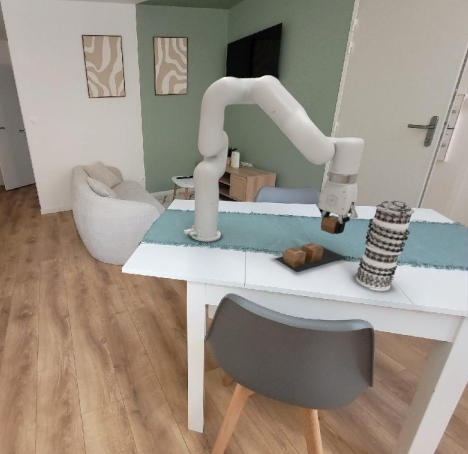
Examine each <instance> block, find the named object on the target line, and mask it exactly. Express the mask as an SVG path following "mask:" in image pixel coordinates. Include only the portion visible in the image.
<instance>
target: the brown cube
mask: <svg viewBox="0 0 468 454" xmlns="http://www.w3.org/2000/svg"><path fill="white" fill-rule="evenodd" d="M320 246H321V245H318V244H317V243H314V242H310V243H305V244H302V245H301V249H300V250H302V251H304V252H306V256H305V260H307V261H309V262H311V263H312V262H315V261H319V260H321V258H322V253H323V248H322V247H323V246H322V247H320Z"/></svg>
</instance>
